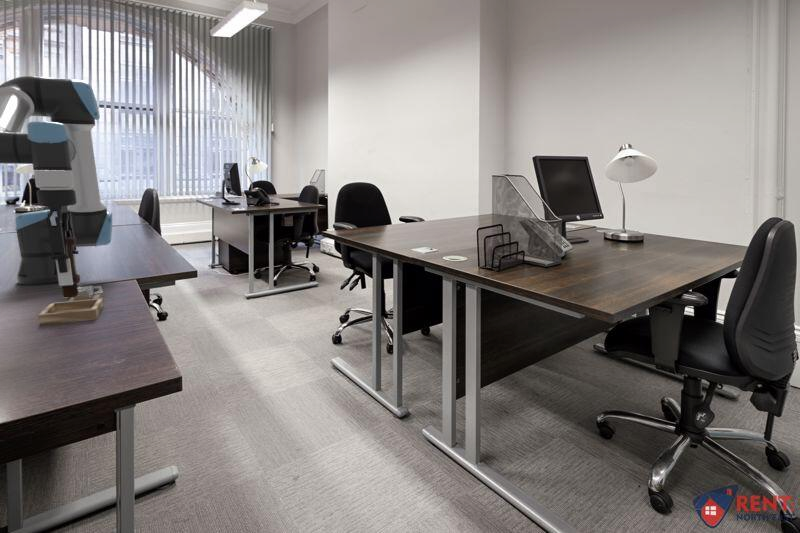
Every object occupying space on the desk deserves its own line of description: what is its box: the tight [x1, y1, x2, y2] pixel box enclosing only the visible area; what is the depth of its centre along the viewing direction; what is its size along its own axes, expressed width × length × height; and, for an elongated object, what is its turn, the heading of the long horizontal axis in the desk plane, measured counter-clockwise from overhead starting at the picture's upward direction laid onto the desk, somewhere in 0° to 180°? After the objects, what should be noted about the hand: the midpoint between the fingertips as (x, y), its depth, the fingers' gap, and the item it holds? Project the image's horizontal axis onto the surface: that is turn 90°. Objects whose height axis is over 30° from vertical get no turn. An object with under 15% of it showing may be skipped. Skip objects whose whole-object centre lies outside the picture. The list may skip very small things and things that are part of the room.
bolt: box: [49, 237, 81, 299], centre depth 114 cm, size 6×5×15 cm
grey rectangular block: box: [74, 284, 95, 301], centre depth 129 cm, size 6×4×4 cm, turn 25°
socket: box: [37, 293, 105, 326], centre depth 121 cm, size 23×12×2 cm, turn 25°
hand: (69, 282), depth 115 cm, fingers closed on bolt, 5 cm apart
